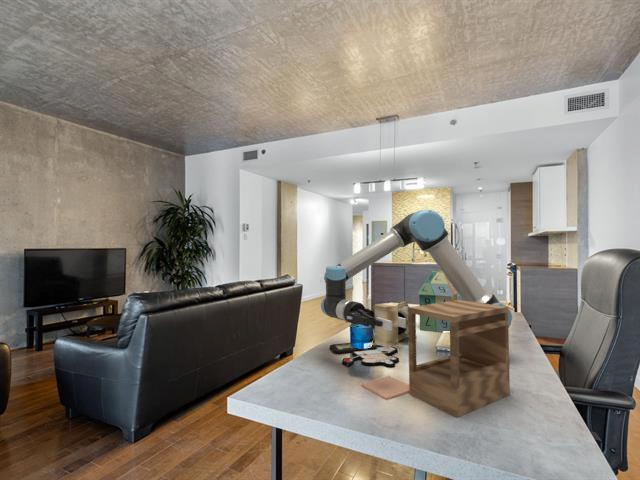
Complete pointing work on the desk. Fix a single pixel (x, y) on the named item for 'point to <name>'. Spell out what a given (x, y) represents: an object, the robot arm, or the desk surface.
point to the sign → (367, 355)
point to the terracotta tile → (386, 387)
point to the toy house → (436, 299)
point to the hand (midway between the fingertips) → (398, 324)
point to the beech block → (383, 335)
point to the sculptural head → (403, 314)
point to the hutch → (463, 357)
